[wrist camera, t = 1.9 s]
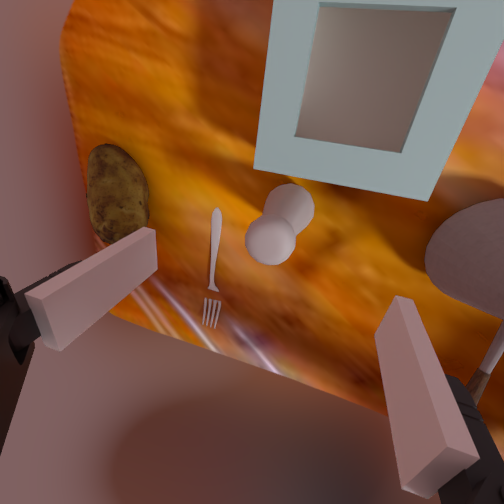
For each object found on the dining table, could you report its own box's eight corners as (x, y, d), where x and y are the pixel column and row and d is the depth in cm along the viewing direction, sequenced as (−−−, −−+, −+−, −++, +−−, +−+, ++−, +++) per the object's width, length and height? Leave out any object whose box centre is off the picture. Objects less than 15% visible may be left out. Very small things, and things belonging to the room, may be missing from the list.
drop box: (402, 179, 27) (427, 201, 19) (275, 157, 30) (253, 168, 22) (473, 3, 20) (555, -70, 13) (301, -3, 23) (281, -67, 16)
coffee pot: (459, 174, 25) (581, 225, 13) (586, 214, 24) (872, 319, 11) (360, 321, 36) (370, 429, 23) (442, 355, 35) (502, 491, 22)
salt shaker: (262, 190, 32) (221, 225, 21) (305, 171, 30) (284, 199, 19) (280, 231, 34) (251, 283, 23) (322, 216, 31) (312, 267, 20)
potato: (158, 148, 34) (112, 154, 27) (164, 235, 40) (128, 258, 33) (107, 140, 36) (51, 144, 29) (120, 225, 42) (77, 244, 35)
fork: (230, 188, 34) (225, 191, 32) (220, 323, 45) (216, 330, 44) (208, 184, 34) (202, 187, 33) (204, 317, 46) (199, 324, 44)
